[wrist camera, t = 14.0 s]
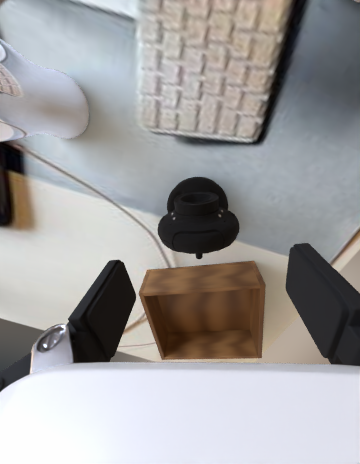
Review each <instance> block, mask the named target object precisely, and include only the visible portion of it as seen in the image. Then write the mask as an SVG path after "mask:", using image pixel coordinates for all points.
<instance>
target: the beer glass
mask: <svg viewBox="0 0 360 464" xmlns="http://www.w3.org/2000/svg"><path fill="white" fill-rule="evenodd" d="M88 121H89V106H88V102H87V99H86V97H85V94H84V92H83V91H82V89H81V88H80V86H79V85H78V84H77V83H76V81H75V80H73V79H72V78H71V77H70V76H69V75H67V74H65V73H63V72H61V71H59V70H55V69H50V68H44V67H40V66H38V65H36V64H34V63H33V62H31V61H30V60H28V59H27V58H26V57H24V56H23V55H22V54H20V53H19V52H18V51H16V50H15V49H14V48H12V47H11V46H10V45H8V44H7V43H6V42H4V41H3V40H2V39H0V143H2V142H8V141H13V140H17V139H21V138H26V137H30V136H34V135H39V134H49V135H53V136H56V137H59V138H64V139H72V138H76V137H78V136H79V135H81V134H82V133H83V132H84V131H85V129H86V127H87V125H88Z"/></svg>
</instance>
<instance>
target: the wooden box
mask: <svg viewBox="0 0 360 464" xmlns="http://www.w3.org/2000/svg"><path fill="white" fill-rule="evenodd" d="M139 296H140V299H141V302H142V304H143V307H144V310H145V313H146V316H147V319H148V321H149V324H150V327H151V330H152V333H153V336H154V339H155V341H156V344H157V347H158V350H159V353H160V356H161V358H162V360H165V359H166V360H167V359H233V358H262V340H263V321H264V302H265V283H264V281H263V279H262V277H261V275H260V272H259V270H258V268H257V266H256V264H255V262H254V261H248V262H236V263H225V264H213V265H202V266H190V267H179V268H167V269H155V270H147V272H146V275H145V277H144V280H143V283H142V286H141V288H140V291H139Z"/></svg>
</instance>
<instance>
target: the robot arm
mask: <svg viewBox="0 0 360 464" xmlns="http://www.w3.org/2000/svg"><path fill="white" fill-rule="evenodd" d="M353 1H356V2H359V3H360V0H353ZM286 291H287V293H288V295H289V297H290V299H291V300H292V302H293V304H294V306H295V308H296V309H297V311H298V313H299V315H300V317H301V318H302V320H303V322H304V324H305V326H306V327H307V329H308V331H309V333H310V334H311V336H312V338H313V340H314V342H315V344H316V345H317V347H318V349H319V351H320V353H321V354H322V356H323V357H324V358H328V359H329V362H330V363H331V365H330V364H329V365H328V364H295V363H294V364H291V363H206V362H110V359H111V357H113V356H114V355H115V352H116V350H117V347H118V345H119V342H120V339H121V337H122V334H123V332H124V329H125V326H126V324H127V321H128V318H129V316H130V313H131V311H132V308H133V305H134V303H135V300H136V294H135V291H134V288H133V286H132V283H131V281H130V278H129V275H128V273H127V270H126V268H125V265H124V263H123V262H121V261H120V260H111V261H109V262H108V263H107V265H106V266H105V267H104V269H103V270H102V272H101V273H100V274H99V276H98V277H97V279H96V280H95V282H94V283H93V284H92V286H91V287H90V289H89V290H88V291H87V293H86V294H85V296H84V297H83V299H82V300H81V301H80V303H79V304H78V306H77V307H76V308H75V310H74V311H73V313H72V314H71V316H70V317H69V318H68V320H69V322H68V324H67V325H65V324H58V325H55V326H52V327H50V328H49V329H47V330H46V331H45V332H43V333H42V334H41V335H40V336H39V337H38V338H37V340H36V341H35V343H34V345H33V348H32V352H31V353H30V354H28V355H26V356H25V357H23V358H22V359H20V360H19V361H17V362H15V363H14V364H12V365H11V366H9V367H8V368H6V369H4V370H3V371H2V372H0V464H360V293H359V292H358V291H356V289H355V288H353V286H352V285H350V283H348V281H346V280H345V278H343V277H342V276H341V275H340V274H339V273H338V272H337V271H336V270H335V269H334V268H333V267H332V266H331V265H330V264H329V263H328V262H327V261H326V260H325V259H324V258H323V257H322V256H321V255H320V254H319V253H318V252H317V251H316V250H315V249H314V248H313V247H312V246H311V245H310V244H308V243H302V244H295V245H294V247H291V248H290V254H289V262H288V270H287V278H286Z"/></svg>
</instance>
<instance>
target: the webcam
mask: <svg viewBox="0 0 360 464" xmlns="http://www.w3.org/2000/svg"><path fill="white" fill-rule="evenodd" d="M167 210H168V214H166V215H165V216H163V218H162V219H161V220H160V222H159V225H158V235H159V237H160V239H161V241H162V242H163V244H164V245H166V246H167V247H168V248H170V249H172V250H174V251H177V252H183V253H189V254H195V253H196V258H197V259H201V258H202V255H203V253H209V252H213V251H219V250H221V249H223V248H225V247H228V246H230V245H231V244H232V243H233V242H234V240H235V239H236V237H237V235H238V233H239V222H238V219H237V217H236V216H235V215H234V214H233V213H232V212H230V211H228V202H227V197H226V194H225V192H224V191H223V189H222V188H221V187H220V186H219V185H218V184H216V183H215V182H214V181H212V180H210V179H207V178H203V177H193V178H189V179H186V180H184V181H182V182H180V183H179V184H178V185H177V186H176V187H175V188H174V189H173V190H172V192H171V193H170V196H169V198H168V203H167Z"/></svg>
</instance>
